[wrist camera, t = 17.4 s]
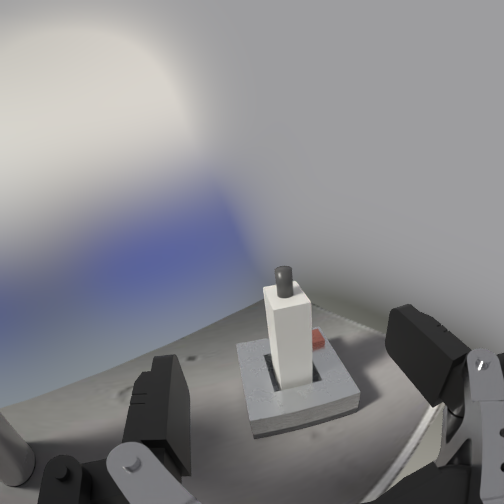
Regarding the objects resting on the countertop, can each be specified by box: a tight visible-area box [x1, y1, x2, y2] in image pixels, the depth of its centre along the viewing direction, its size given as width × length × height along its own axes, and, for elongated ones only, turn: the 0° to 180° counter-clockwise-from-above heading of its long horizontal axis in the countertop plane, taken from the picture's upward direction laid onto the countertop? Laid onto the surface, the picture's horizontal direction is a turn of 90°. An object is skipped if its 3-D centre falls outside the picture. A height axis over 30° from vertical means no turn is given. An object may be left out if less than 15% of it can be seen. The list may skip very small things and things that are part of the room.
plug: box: [263, 266, 312, 391], centre depth 33 cm, size 4×6×17 cm
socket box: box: [236, 327, 361, 439], centre depth 35 cm, size 13×15×5 cm
